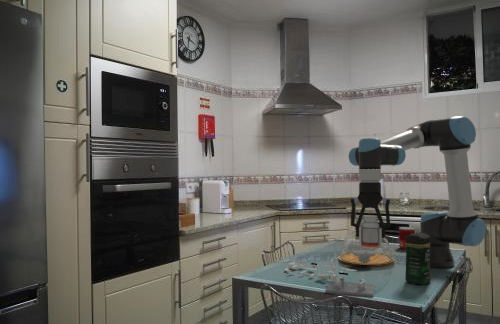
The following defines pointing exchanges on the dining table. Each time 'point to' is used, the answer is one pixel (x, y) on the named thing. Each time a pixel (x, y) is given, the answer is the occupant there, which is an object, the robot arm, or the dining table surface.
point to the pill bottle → (370, 232)
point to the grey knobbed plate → (351, 288)
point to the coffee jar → (418, 258)
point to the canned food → (404, 235)
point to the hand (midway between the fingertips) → (370, 246)
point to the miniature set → (321, 276)
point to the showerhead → (364, 255)
